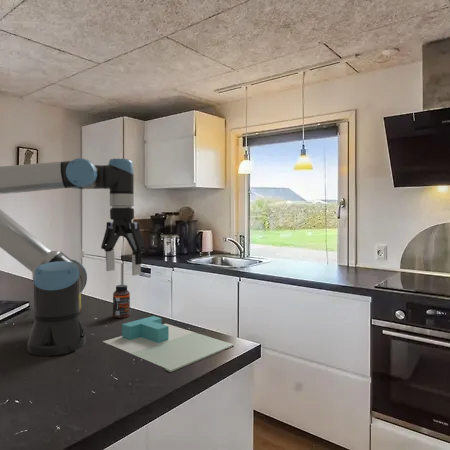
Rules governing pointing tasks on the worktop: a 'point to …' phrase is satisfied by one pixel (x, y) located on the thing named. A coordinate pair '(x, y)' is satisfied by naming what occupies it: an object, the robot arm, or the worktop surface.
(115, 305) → the supplement bottle
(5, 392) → the worktop surface
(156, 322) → the t block
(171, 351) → the board
